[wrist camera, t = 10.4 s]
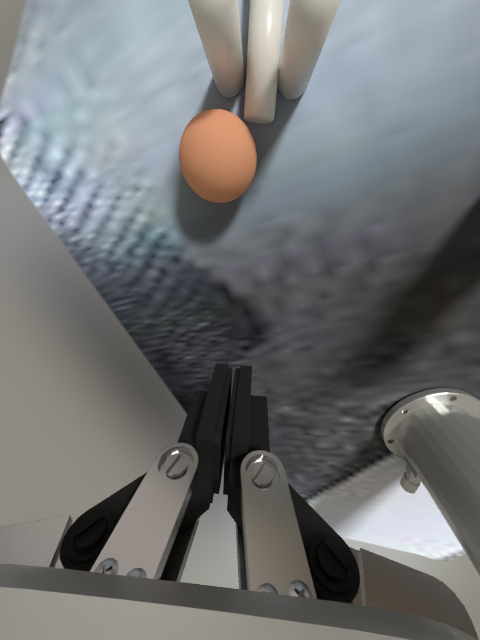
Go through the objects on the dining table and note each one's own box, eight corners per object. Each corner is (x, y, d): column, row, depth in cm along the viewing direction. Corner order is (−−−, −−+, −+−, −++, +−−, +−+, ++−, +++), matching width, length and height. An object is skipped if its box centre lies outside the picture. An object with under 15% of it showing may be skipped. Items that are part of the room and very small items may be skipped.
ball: (258, 96, 17) (274, 185, 20) (197, 129, 20) (219, 202, 23) (217, 85, 13) (245, 200, 16) (148, 128, 16) (182, 217, 19)
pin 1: (243, 97, 19) (234, 18, 11) (214, 96, 19) (185, 17, 11) (245, 57, 18) (236, -61, 10) (214, 56, 18) (182, -62, 10)
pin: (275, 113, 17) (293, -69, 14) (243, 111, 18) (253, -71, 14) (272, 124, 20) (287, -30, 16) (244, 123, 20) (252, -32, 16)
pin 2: (305, 100, 19) (339, 22, 11) (275, 99, 19) (289, 19, 11) (311, 59, 18) (353, -59, 10) (279, 58, 18) (297, -60, 10)
